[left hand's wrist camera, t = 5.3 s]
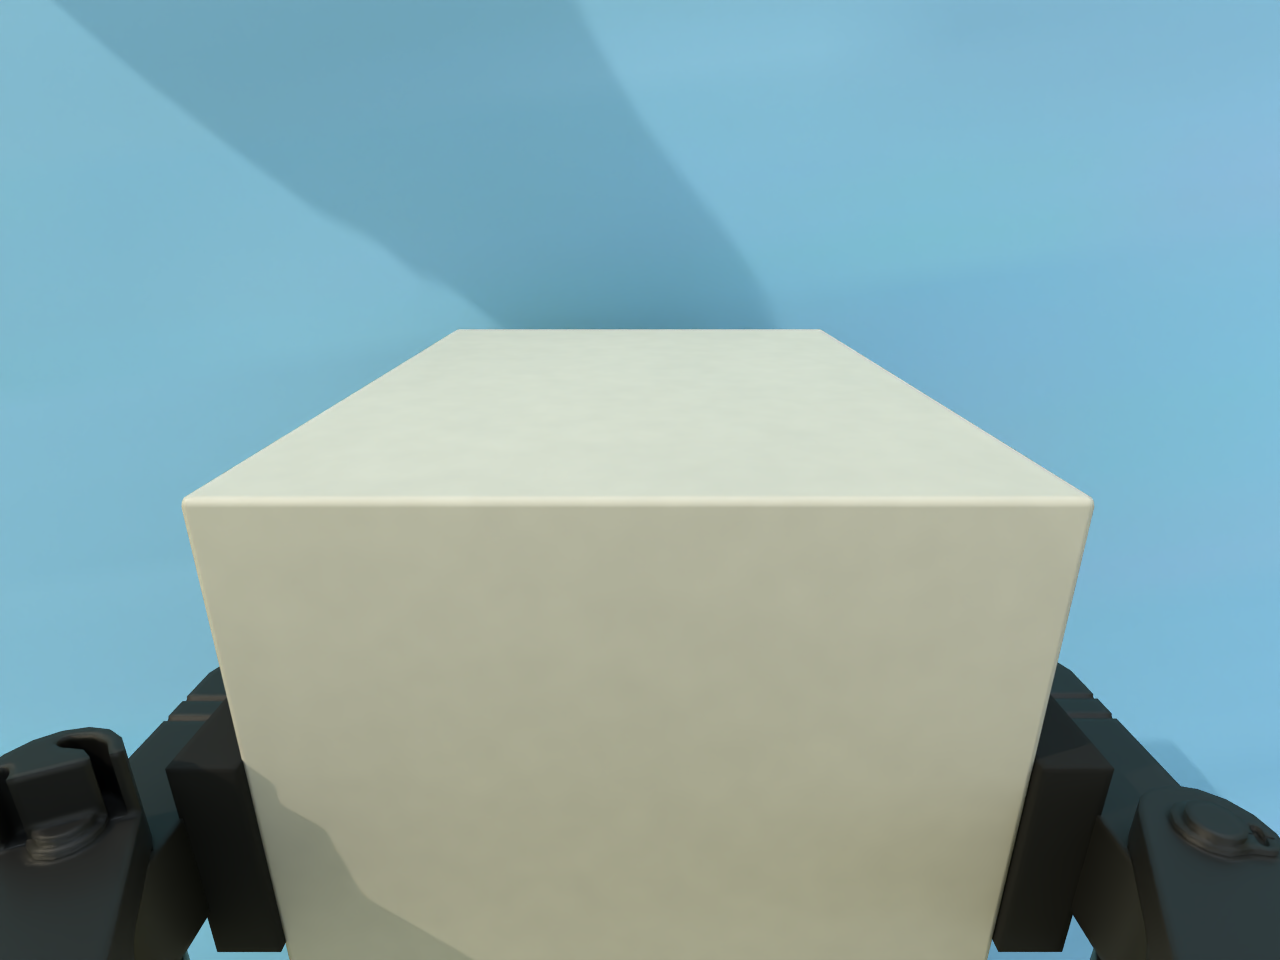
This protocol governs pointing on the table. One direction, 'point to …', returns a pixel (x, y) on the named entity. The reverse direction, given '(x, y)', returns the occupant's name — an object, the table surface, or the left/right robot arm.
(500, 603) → the brick
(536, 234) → the table surface
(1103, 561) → the table surface
